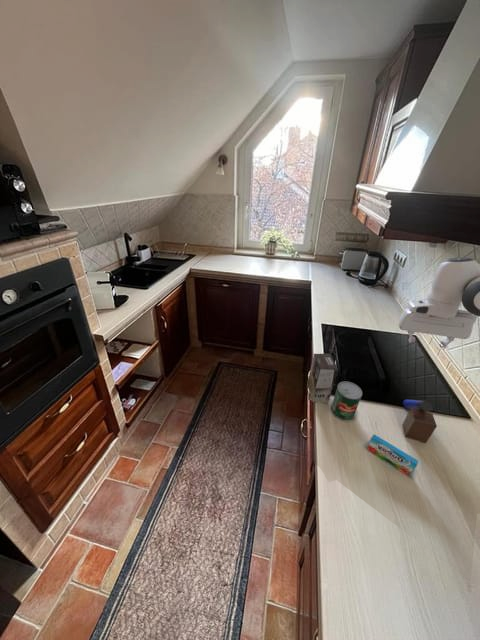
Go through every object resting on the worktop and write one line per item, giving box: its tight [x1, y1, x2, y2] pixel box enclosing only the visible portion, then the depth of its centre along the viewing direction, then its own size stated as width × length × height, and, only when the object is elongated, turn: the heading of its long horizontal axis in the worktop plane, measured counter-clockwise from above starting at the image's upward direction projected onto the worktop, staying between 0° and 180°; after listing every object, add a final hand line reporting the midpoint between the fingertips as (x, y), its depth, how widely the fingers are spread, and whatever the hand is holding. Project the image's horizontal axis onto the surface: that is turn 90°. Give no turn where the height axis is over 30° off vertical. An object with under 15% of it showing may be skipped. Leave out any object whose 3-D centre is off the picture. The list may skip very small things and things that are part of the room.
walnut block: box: [401, 408, 438, 444], centre depth 81 cm, size 5×6×8 cm
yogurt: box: [365, 433, 419, 477], centre depth 74 cm, size 12×2×6 cm, turn 48°
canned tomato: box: [330, 380, 363, 422], centre depth 88 cm, size 8×8×11 cm
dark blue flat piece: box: [402, 399, 434, 413], centre depth 86 cm, size 13×3×13 cm, turn 160°
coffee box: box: [306, 353, 339, 404], centre depth 93 cm, size 9×6×16 cm
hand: (426, 344), depth 88 cm, fingers open, 8 cm apart
